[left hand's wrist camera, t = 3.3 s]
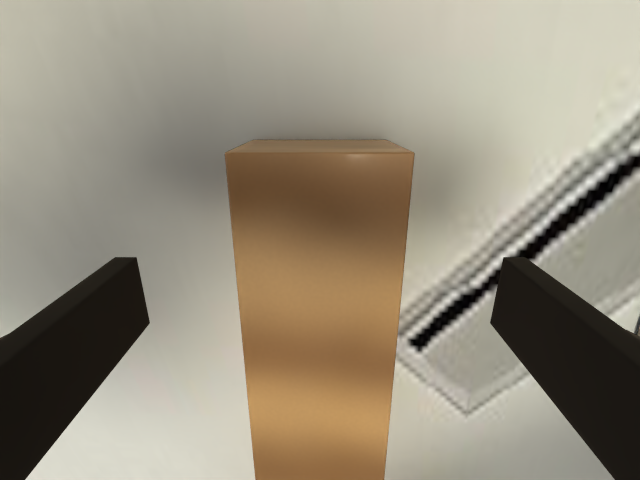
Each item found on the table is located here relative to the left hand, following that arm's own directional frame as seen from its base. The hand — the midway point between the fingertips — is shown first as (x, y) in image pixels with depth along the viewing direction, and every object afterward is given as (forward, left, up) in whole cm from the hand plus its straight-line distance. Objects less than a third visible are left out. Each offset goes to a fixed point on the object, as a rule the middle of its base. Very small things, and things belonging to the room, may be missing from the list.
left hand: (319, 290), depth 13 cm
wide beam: (+18, -20, -12) cm, 29 cm away
